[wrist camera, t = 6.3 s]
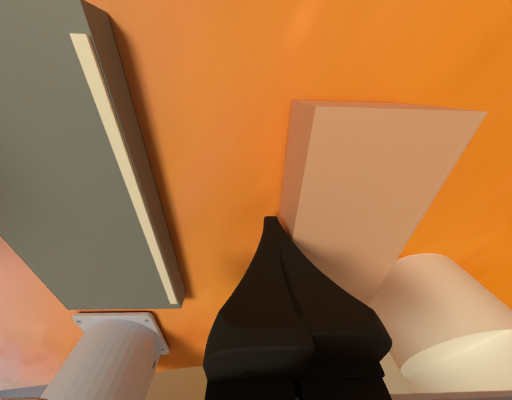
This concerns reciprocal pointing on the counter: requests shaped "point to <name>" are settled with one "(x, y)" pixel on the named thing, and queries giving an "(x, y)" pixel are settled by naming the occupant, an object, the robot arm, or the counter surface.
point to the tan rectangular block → (365, 181)
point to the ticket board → (78, 163)
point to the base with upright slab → (445, 327)
